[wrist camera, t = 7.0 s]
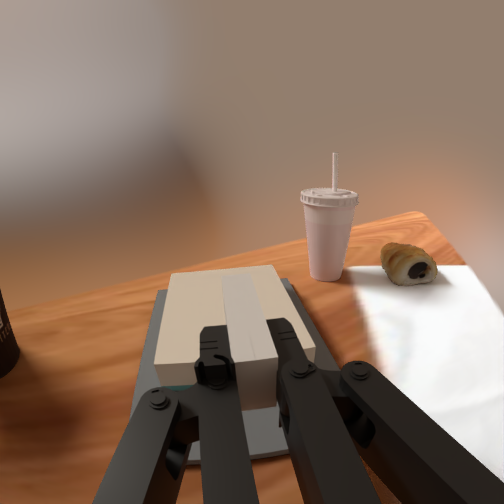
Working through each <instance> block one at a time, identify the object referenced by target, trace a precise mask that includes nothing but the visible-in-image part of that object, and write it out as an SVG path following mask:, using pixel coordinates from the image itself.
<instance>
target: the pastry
mask: <svg viewBox="0 0 504 504" xmlns="http://www.w3.org/2000/svg"><path fill="white" fill-rule="evenodd" d="M381 260H382V268H383V269H384V270H385V272H386V273H387V276H388V277H389V278H390V280H391V281H392V282H393V283H395V284H396V285H402V286H411V285H416V284H420V283H421V284H422V283H428V282H431V281H432V280H433V279H435V277H436V275H437V266H436V262H435V261H433V258H432V257H430V256H429V255H428V254H427V253H425V251H424V250H423V249H421V248H418V247H416V246H412V245H410V244H398V243H388V244H386V245H385V246H384V247H383V248H382V249H381Z"/></svg>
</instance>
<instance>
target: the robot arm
mask: <svg viewBox="0 0 504 504" xmlns="http://www.w3.org/2000/svg"><path fill="white" fill-rule="evenodd" d="M221 279H222V290H223V301H224V311H225V321H226V325H217V326H206V327H204V328H203V329H202V331H201V333H200V357H199V358H198V359H197V360H196V361H195V365H194V370H195V374H196V379H197V382H196V383H195V384H194V385H193V386H192V387H190V388H188V389H186V390H183V391H180V392H176V393H175V392H174V391H173V390H171V389H169V388H166V387H156V388H152V389H150V390H148V391H147V392H145V393H144V394H143V395H142V397H141V398H140V400H139V402H138V404H137V406H136V408H135V411H134V413H133V415H132V417H131V419H130V421H129V423H128V425H127V427H126V429H125V432H124V434H123V436H122V438H121V440H120V442H119V444H118V447H117V449H116V451H115V453H114V455H113V458H112V460H111V462H110V464H109V466H108V469H107V471H106V473H105V475H104V478H103V480H102V482H101V484H100V487H99V489H98V491H97V494H96V496H95V498H94V501H93V503H92V504H176V500H177V497H178V493H179V490H180V486H181V482H182V479H183V475H184V471H185V468H186V464H187V461H188V457H189V453H190V450H191V446H192V443H193V442H196V441H200V460H201V475H202V489H203V501H204V504H259V500H258V495H257V490H256V485H255V480H254V475H253V470H252V465H251V460H250V454H249V449H248V444H247V438H246V433H245V427H244V421H243V415H242V411H248V410H256V409H263V408H270V407H276V406H277V402H278V405H279V428H281V427H282V429H283V432H284V436H285V439H286V443H287V446H288V450H289V453H290V457H291V460H292V464H293V467H294V470H295V474H296V477H297V481H298V484H299V487H300V491H301V494H302V497H303V501H304V504H381V502H380V500H379V497H378V495H377V493H376V491H375V489H374V486H373V484H372V482H371V480H370V478H369V476H368V473H367V471H366V469H365V467H364V465H363V463H362V460H361V458H360V456H361V457H362V459H363V460H364V461H365V462H366V463H367V464H368V466H369V467H370V468H371V469H372V470H373V471H374V473H375V474H376V475H377V476H378V477H379V478H380V479H381V481H382V482H383V483H384V484H385V485H386V486H387V487H388V488H389V490H390V491H391V492H392V493H393V494H394V495H395V496H396V497H397V498H398V499H399V501H400V502H401V503H402V504H504V483H503V482H502V481H501V480H500V479H499V478H498V477H497V476H495V475H494V474H493V473H492V472H491V471H490V470H489V469H488V468H486V467H485V466H484V465H483V464H482V463H481V462H480V461H479V460H477V459H476V458H475V457H474V456H473V455H472V454H471V453H470V452H468V451H467V450H466V449H465V448H464V447H463V446H462V445H461V444H459V443H458V442H457V441H456V440H455V439H454V438H453V437H452V436H450V435H449V434H448V433H447V432H446V431H445V430H444V429H443V428H441V427H440V426H439V425H438V424H437V423H436V422H435V421H434V420H433V419H431V418H430V417H429V416H428V415H427V414H426V413H425V412H424V411H422V410H421V409H420V408H419V407H418V406H417V405H416V404H415V403H414V402H412V401H411V400H410V399H409V398H408V397H407V396H406V395H405V394H403V393H402V392H401V391H400V390H399V389H398V388H397V387H396V386H395V385H393V384H392V383H391V382H390V381H389V380H388V379H387V378H386V377H385V376H383V375H382V374H381V373H380V372H379V371H378V370H377V369H376V368H375V367H373V366H372V365H371V364H369V363H367V362H363V361H352V362H348V363H347V364H345V365H344V366H343V368H342V370H341V371H331V370H323V369H319V368H318V367H317V366H316V365H315V364H314V363H313V362H311V361H309V360H308V358H307V356H306V354H305V352H304V350H303V348H302V345H301V343H300V341H299V339H298V337H297V334H296V332H295V330H294V328H293V326H292V324H291V323H290V322H289V321H288V320H287V319H285V318H284V317H283V318H275V319H267V320H266V319H265V316H264V313H263V310H262V307H261V304H260V301H259V298H258V295H257V292H256V289H255V287H254V284H253V281H252V277H251V274H250V273H247V274H236V275H225V276H221ZM359 455H360V456H359Z"/></svg>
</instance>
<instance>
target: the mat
mask: <svg viewBox="0 0 504 504" xmlns="http://www.w3.org/2000/svg"><path fill="white" fill-rule="evenodd" d="M280 280H281V282H282V284H283V286H284V288H285V290H286V292H287V293H288V295H289V297H290V299H291V301H292V303H293V305H294V306H295V308H296V310H297V312H298V314H299V316H300V318H301V320H302V321H303V323H304V325H305V327H306V329H307V331H308V333H309V335H310V337H311V338H312V340H313V342H314V344H315V346H316V350H315V358H314V364H315V365H316V366H317V367H318V368H319V369H323V370H331V371H341V370H340V369H339V367H338V365H337V363H336V362H335V360H334V358H333V356H332V355H331V353H330V351H329V349H328V348H327V346H326V344H325V342H324V341H323V339H322V337H321V336H320V334H319V332H318V330H317V329H316V327H315V325H314V323H313V322H312V320H311V318H310V317H309V315H308V313H307V311H306V310H305V308H304V306H303V305H302V303H301V301H300V299H299V298H298V296H297V294H296V293H295V291H294V289H293V287H292V286H291V284H290V282H289V281H288V279H287V278H284V279H280ZM167 292H168V289H167V290H158V293H157V297H156V301H155V304H154V308H153V312H152V316H151V320H150V324H149V328H148V332H147V336H146V340H145V345H144V349H143V353H142V358H141V362H140V367H139V372H138V377H137V382H136V387H135V392H134V397H133V402H132V408H131V414H130V419H131V417H132V415H133V413H134V411H135V408H136V406H137V404H138V402H139V400H140V398H141V397H142V395H143V394H144V393H145V392H147V391H148V390H150V389H152V388H156V387H161V385H160V382H159V379H158V376H157V373H156V370H155V367H154V360H155V354H156V348H157V343H158V337H159V332H160V326H161V321H162V316H163V311H164V306H165V301H166V296H167ZM180 391H183V390H180ZM180 391H174V392H175V393H176V392H180ZM242 415H243V421H244V427H245V433H246V438H247V444H248V449H249V454H250V460H252V459H259V458H266V457H272V456H278V455H283V454H289V450H288V446H287V443H286V439H285V436H284V432H283V429H282V427H281V428H279V405H278V402H277V406H276V407H270V408H263V409H256V410H248V411H242ZM130 419H129V421H130ZM192 464H201V460H200V441H196V442H193V443H192V446H191V450H190V453H189V457H188V461H187V464H186V465H192Z"/></svg>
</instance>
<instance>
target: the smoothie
mask: <svg viewBox="0 0 504 504" xmlns="http://www.w3.org/2000/svg"><path fill="white" fill-rule="evenodd" d="M337 181H338V153H336V152H334V153H333V181H332V188H312V189H306V190H303V191H302V192H301V199H300V200H301V202H302V203H303V204H304V214H305V222H306V231H307V243H308V254H309V266H310V275H311V277H312V278H314V279H316V280H319V281H325V282H330V281H336V280H338V279H339V278H340V277H341V274H342V270H343V265H344V261H345V256H346V252H347V247H348V242H349V237H350V232H351V227H352V221H353V217H354V210H355V206H356V205H358V203H359V202H358V194H357V193H355V192H352V191H349V190H344V189H337V186H338V185H337Z"/></svg>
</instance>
